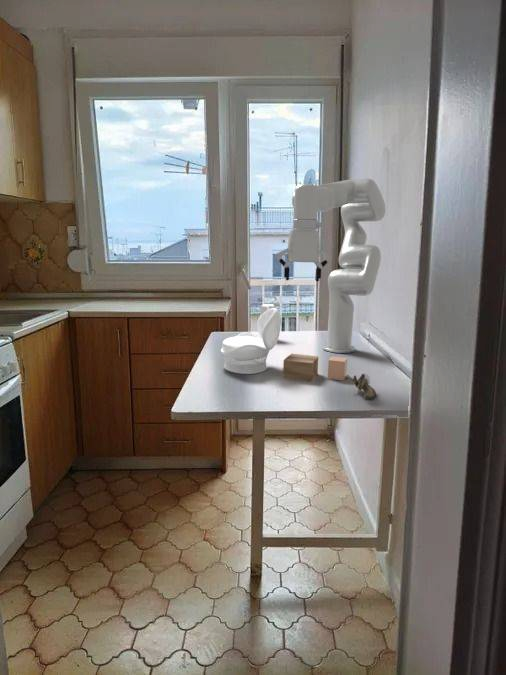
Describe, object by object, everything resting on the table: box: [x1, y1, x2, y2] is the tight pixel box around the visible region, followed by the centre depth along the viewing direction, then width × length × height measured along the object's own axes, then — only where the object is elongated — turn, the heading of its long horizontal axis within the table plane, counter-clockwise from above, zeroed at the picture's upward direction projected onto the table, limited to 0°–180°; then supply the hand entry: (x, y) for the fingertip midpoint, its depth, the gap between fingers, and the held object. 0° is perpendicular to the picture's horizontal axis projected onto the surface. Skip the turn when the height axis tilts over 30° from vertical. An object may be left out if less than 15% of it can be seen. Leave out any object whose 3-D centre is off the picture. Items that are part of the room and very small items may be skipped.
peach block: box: [327, 356, 348, 381], centre depth 140 cm, size 5×5×6 cm
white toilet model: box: [220, 307, 282, 375], centre depth 147 cm, size 20×20×20 cm
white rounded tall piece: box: [259, 303, 277, 341], centre depth 192 cm, size 7×7×15 cm
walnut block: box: [282, 353, 319, 382], centre depth 141 cm, size 9×9×6 cm
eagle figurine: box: [346, 373, 378, 401], centre depth 124 cm, size 8×7×9 cm
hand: (302, 280), depth 144 cm, fingers open, 9 cm apart
